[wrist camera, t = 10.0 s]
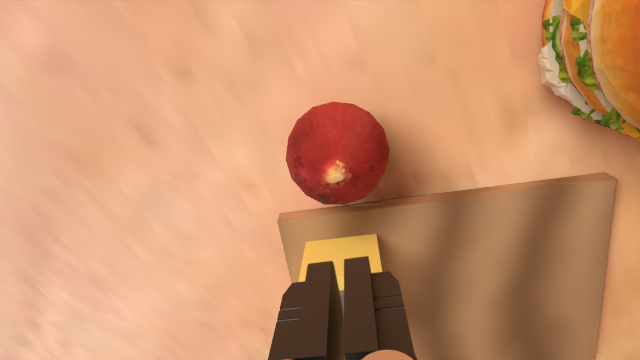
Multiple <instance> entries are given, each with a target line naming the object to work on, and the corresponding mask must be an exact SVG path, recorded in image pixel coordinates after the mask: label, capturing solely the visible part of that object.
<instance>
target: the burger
mask: <svg viewBox="0 0 640 360" xmlns="http://www.w3.org/2000/svg"><path fill="white" fill-rule="evenodd" d="M542 41H543V48H542V49H541V50H540V52H539V54H538V62H537V65H538V69H539V72H540V77H541V83H542V85H544V86H547V87H549V88H551V89H552V91H553V92H554V94H555V95H557V96H559V97H562V98H563V99H565V100H567V101H569V102H570V103H571V104H572V105H573V106H574V109H573V111H572V112H571V113H573V114H574V115H580V117H581V118H582V119H583V120H585V119H594V120H595V122H596V123H598V124H600V125H602V126H606V127H610V128H612V130H618V131H619V132H620V133H622V134H625V135H628V136H631V137H633V138H634V139H635V140H637V141H640V0H546V2H545V6H544V10H543V15H542Z"/></svg>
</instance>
